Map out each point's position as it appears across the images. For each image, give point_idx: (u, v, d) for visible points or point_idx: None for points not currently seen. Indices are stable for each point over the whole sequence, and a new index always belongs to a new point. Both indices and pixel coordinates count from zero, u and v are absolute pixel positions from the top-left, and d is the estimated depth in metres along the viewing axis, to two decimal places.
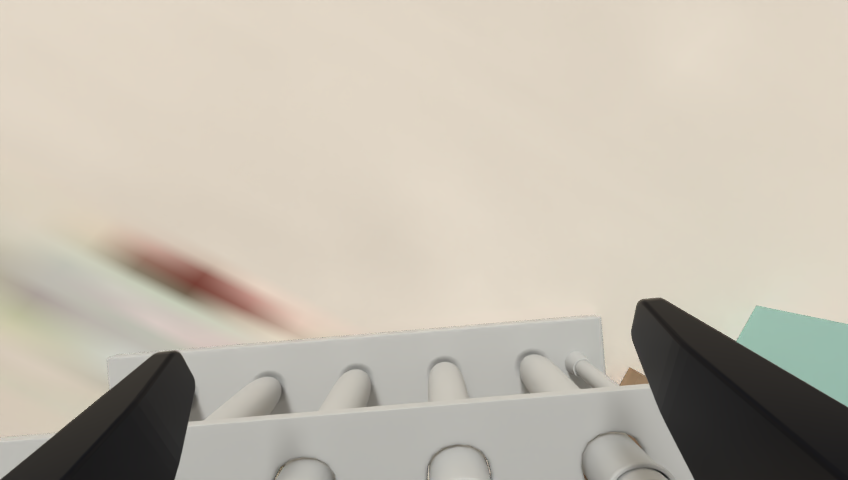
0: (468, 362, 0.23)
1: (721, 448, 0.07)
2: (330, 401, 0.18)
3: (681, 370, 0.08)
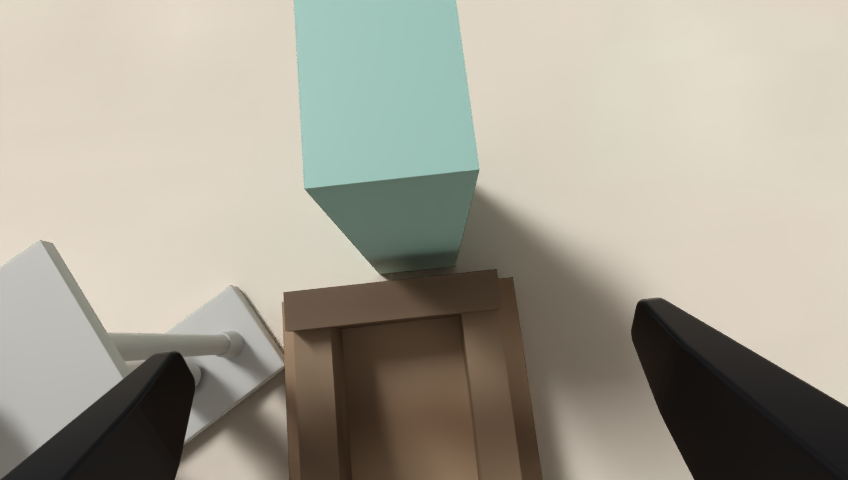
0: None
1: (721, 448, 0.07)
2: None
3: (681, 370, 0.08)
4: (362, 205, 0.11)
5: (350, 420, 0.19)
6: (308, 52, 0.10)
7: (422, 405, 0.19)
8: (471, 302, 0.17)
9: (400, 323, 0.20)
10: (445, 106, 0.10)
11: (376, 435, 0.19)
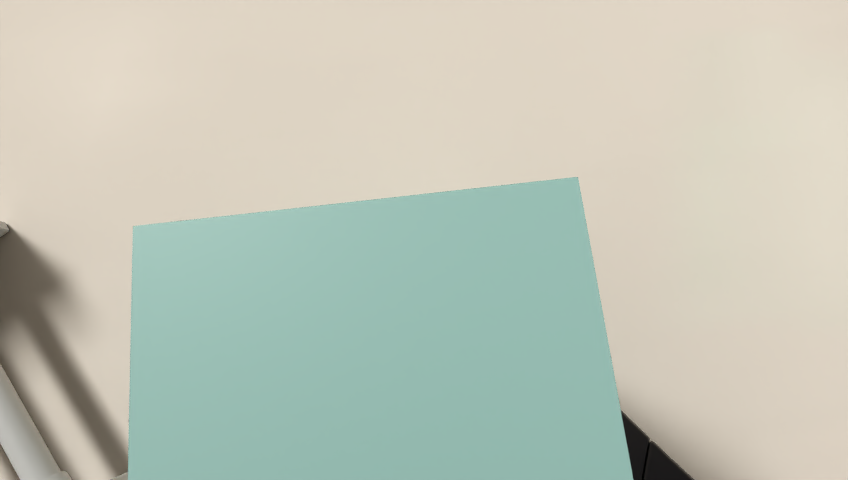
0: None
1: None
2: None
3: None
4: None
5: None
6: None
7: None
8: None
9: None
10: None
11: None
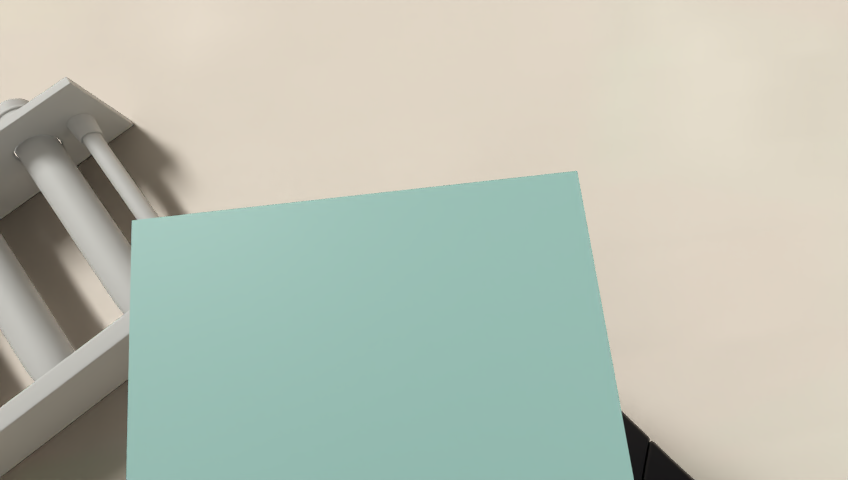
0: None
1: None
2: None
3: None
4: None
5: None
6: None
7: None
8: None
9: None
10: None
11: None
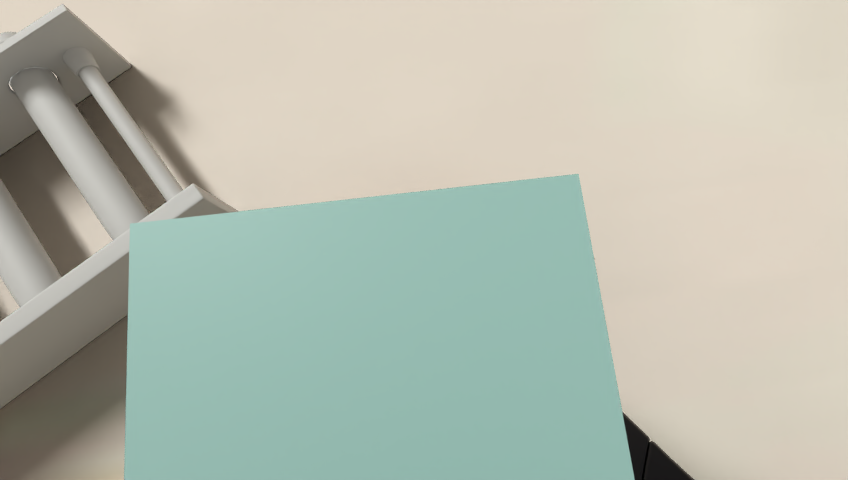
0: None
1: None
2: None
3: None
4: None
5: None
6: None
7: None
8: None
9: None
10: None
11: None
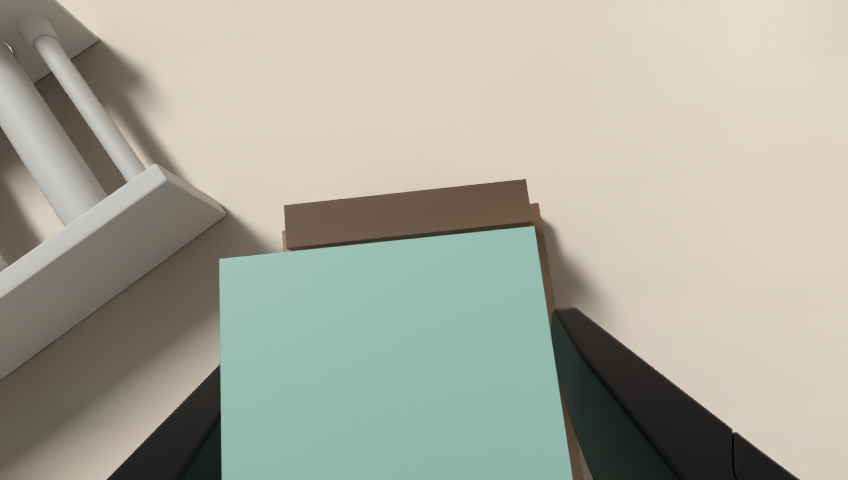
0: None
1: (613, 460, 0.07)
2: None
3: (582, 381, 0.08)
4: None
5: None
6: (245, 448, 0.05)
7: None
8: (498, 215, 0.15)
9: None
10: None
11: None
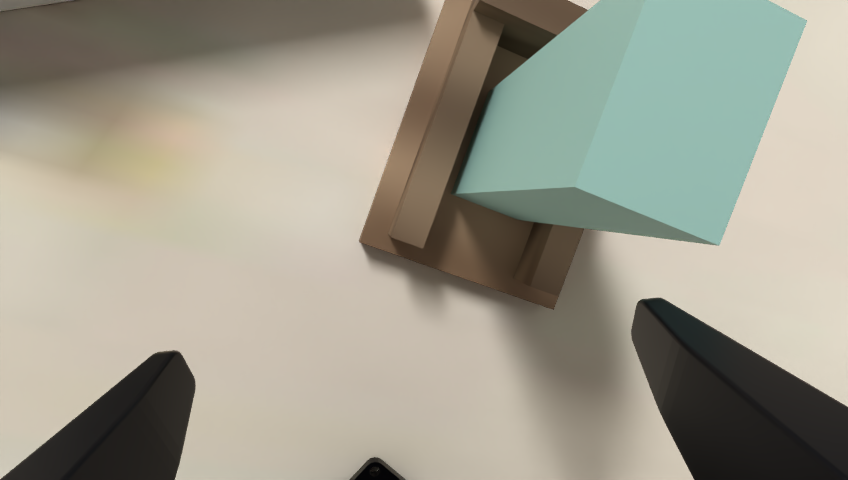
0: None
1: (721, 448, 0.07)
2: None
3: (681, 370, 0.08)
4: (577, 202, 0.11)
5: None
6: (639, 48, 0.09)
7: None
8: None
9: None
10: (724, 173, 0.10)
11: None
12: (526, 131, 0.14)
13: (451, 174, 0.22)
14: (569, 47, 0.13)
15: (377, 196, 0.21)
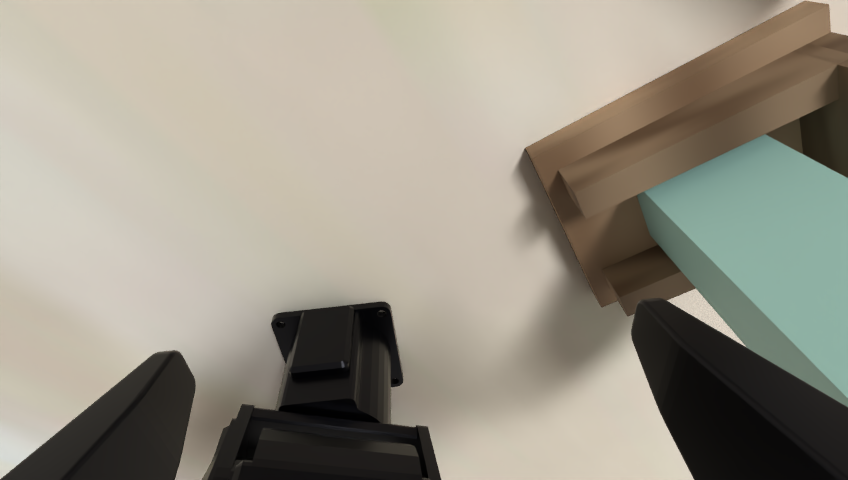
0: None
1: (721, 448, 0.07)
2: None
3: (681, 370, 0.08)
4: (818, 387, 0.12)
5: None
6: None
7: None
8: None
9: (800, 134, 0.20)
10: None
11: None
12: (809, 268, 0.14)
13: None
14: None
15: (581, 134, 0.20)
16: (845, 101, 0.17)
